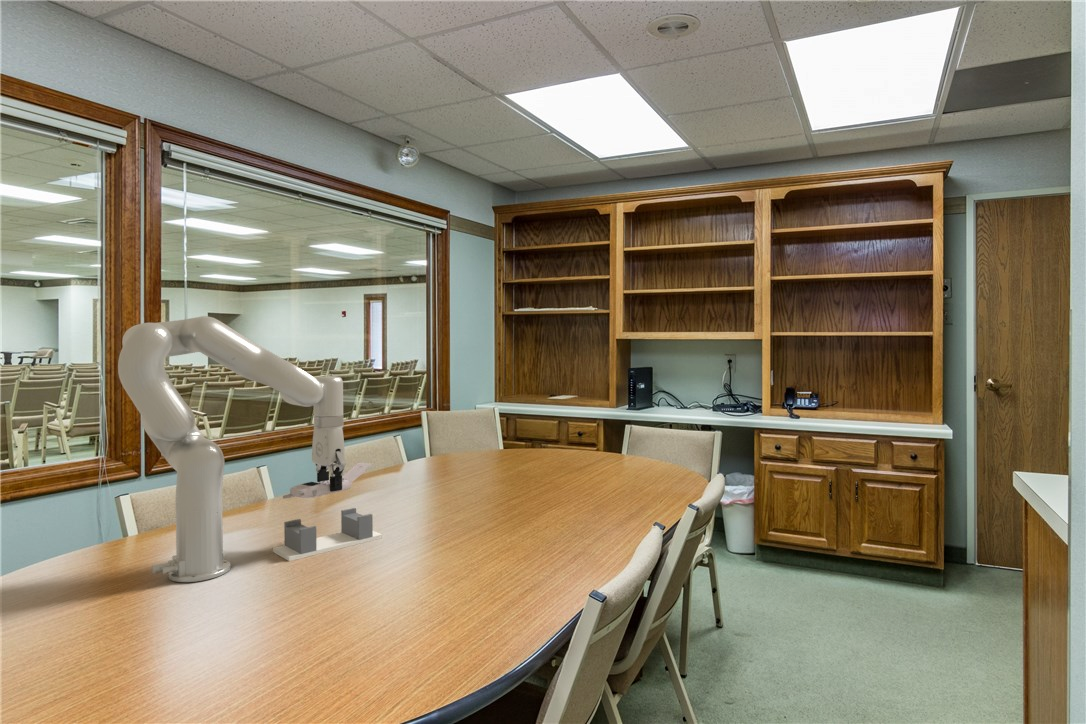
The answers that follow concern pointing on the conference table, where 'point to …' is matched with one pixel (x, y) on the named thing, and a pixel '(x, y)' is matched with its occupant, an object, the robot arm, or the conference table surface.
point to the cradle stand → (306, 544)
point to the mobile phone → (327, 484)
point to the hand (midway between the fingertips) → (329, 488)
